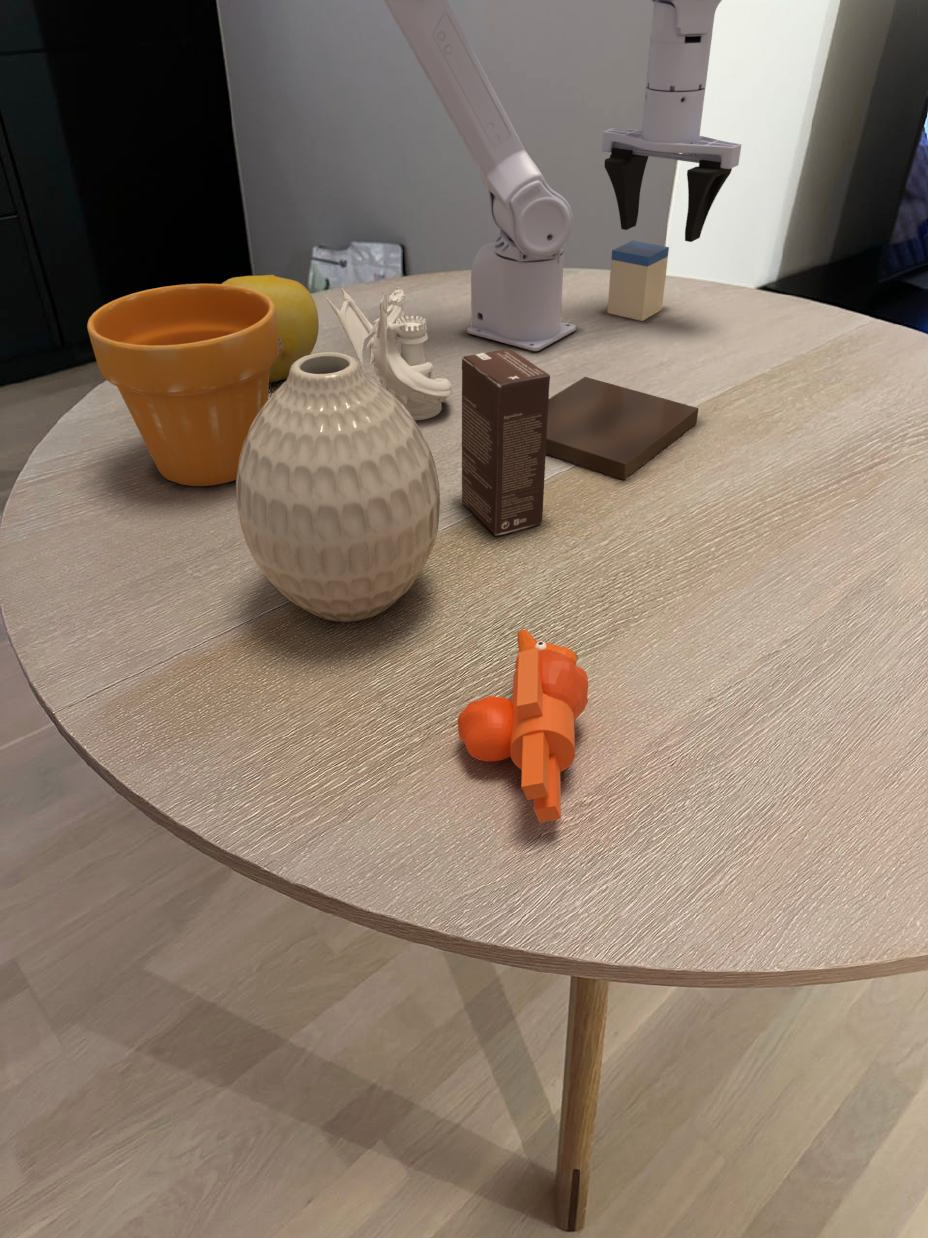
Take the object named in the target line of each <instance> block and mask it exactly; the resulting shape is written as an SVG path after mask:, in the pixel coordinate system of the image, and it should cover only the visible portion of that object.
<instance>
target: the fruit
mask: <svg viewBox="0 0 928 1238" xmlns="http://www.w3.org/2000/svg"><path fill="white" fill-rule="evenodd" d="M221 284H224V285H233V286H239V287H244V288H248V289H252V290H255V291H258V292H260V293H262V294H264V295H266V296H267V297H268V298H269V299H271V301H272V302H273V304H274V306H275V313H276V320H277V329H278V339H279V354H278V357H277V359H276V361H275V362H274V364H273V365H272V366H271V367H270V373H269V383H275V382H280V381H282V380H283V381H284V380H285V379H286V380H287V378H288V376H289V370H290V368H291V365H292V364H293V363H294V362H295V361H297V360H298V359H300V358H302V357H304V356H307V355H311V354H312V352H313V350H314V348H315V346H316V343H317V341H318V336H319V327H320V325H319V324H320V322H319V320H320V319H319V313H318V312H319V311H318V308H317V304H316V302H315V300H314V298H313V296H312V294H311V293H310V291H309V290H308V289H307V288H306V287H305V286H304V285H303V284H302V283H300V282H299V281H297V280H293V279H289V278H285V277H281V276H276V275H274V274H265V275H264V274H263V275H244V276H236V277H231V278H228V279H227V280H225V281H223V282H222V283H221Z"/></svg>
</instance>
